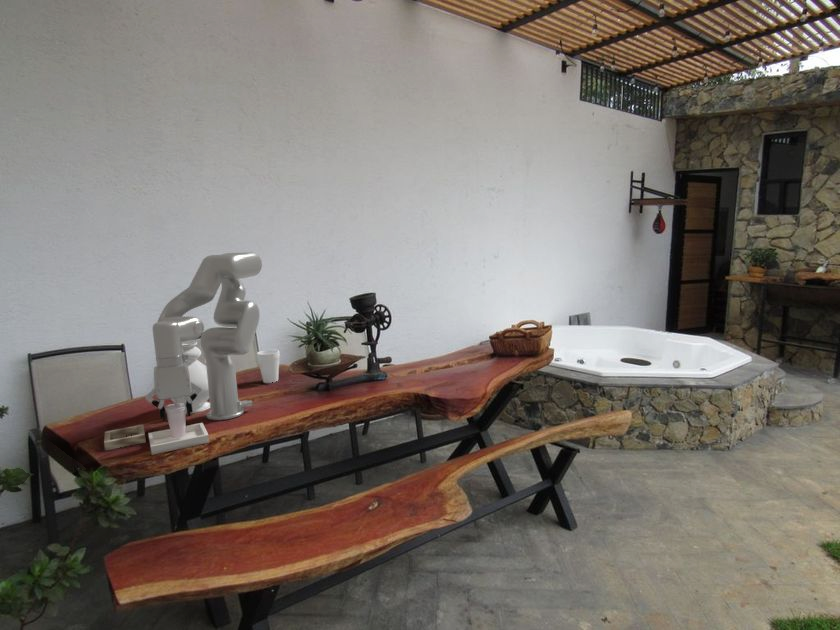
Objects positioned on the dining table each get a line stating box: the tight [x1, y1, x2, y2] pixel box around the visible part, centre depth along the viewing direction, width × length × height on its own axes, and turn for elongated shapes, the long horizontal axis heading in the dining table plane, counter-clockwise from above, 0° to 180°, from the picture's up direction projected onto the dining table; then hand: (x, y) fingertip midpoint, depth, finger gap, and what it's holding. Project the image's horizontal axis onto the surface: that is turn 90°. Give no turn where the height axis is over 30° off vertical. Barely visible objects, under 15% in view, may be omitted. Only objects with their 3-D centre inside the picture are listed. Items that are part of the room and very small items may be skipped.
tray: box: [147, 422, 210, 456], centre depth 164 cm, size 16×13×2 cm
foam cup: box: [256, 349, 281, 384], centre depth 229 cm, size 10×9×13 cm
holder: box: [103, 424, 147, 451], centre depth 166 cm, size 11×11×2 cm
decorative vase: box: [170, 340, 210, 415], centre depth 194 cm, size 18×18×25 cm
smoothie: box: [164, 398, 187, 438], centre depth 163 cm, size 6×6×14 cm
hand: (176, 416), depth 163 cm, fingers closed on smoothie, 6 cm apart
